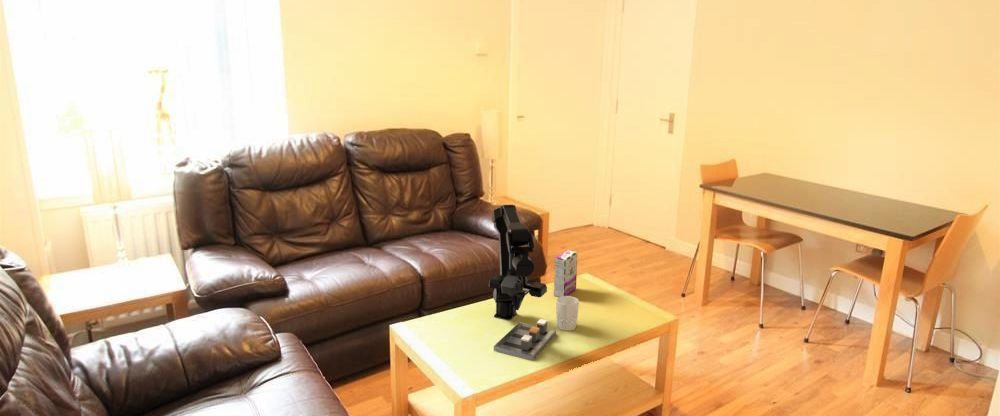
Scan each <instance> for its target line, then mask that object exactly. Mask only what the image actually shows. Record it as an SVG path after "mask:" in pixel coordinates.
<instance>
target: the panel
mask: <svg viewBox="0 0 1000 416" xmlns="http://www.w3.org/2000/svg"><path fill="white" fill-rule="evenodd" d="M532 327H537V325H533V324H529V323H524V322H517V324H516V325H514V327H512V328H511V329H510V330H509V331H508V332H507V333H506V334H505V335H504V336H503V337H502V338H501V339H500V340H498V341H497V343H496V344H494V345H493V351H494V352H498V353H501V354H506V355H509V356H514V357H517V358H522V359H525V360H530V361H535V360H536V359H537V357H538V356H539V355H540V354H541V353H542V352H543V350H544V349H545V348H547V346H548V344H550V343H551V341H552V340H553V339H554V338H555V336H557V330H556V329H551V328H547V330H546V331H545V332H544V334H542V333H539V339H538V340H537V341H536V342H535V341H532V346H531V348H530V349H529V350H524V349H521V338H522V337H523V336H524V335H529V330H530V329H531V328H532Z"/></svg>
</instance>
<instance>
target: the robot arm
mask: <svg viewBox="0 0 1000 416" xmlns="http://www.w3.org/2000/svg"><path fill="white" fill-rule="evenodd" d="M491 222H492V223H493V228H494V229H495V231H496V232H497V234H498V251H499V253H498V254H499V255H498V256H499V274H496V275H494V276H492V277H491V278H490V279H489V280H488V287H489V289H493V292H492V294H493V300H494V303H495V305H496V306H495V307H496V308H495V314H494V315H493V317H494V318H499V319H503V320H506V321H507V320H508V321H510V320H511V321H512V319H513V318H514V317H515V316H516V315H517V314H518V313H517V311H519V310H520V307H521V305H522V303H523V301H524V299H525V296H527V294H529V295H530V296H531V297H535V298H542V297H543V296H544V295H545V294H546V293H547V292H548V286H547V284H546V283H544V282H543V283H542V282H537V281H535V282H534V283H532V284H530V283H528V282H529V279H528V276H531V275H532V274H533V272H534V269H535V263H534V262H533V261H532V259H531V258H530V256H529V253H533V252H534V247H535V245H534V244H535V243H534V239H533V234H532V232H531V231H530V230H529V228H528V227H527V225H526V224H523V223H522V222H521V220H520V217H519V215H518V211H517V208H516V204H515V205H514V204H502V205H500V206H499V207H497V208H495V209H494V210H493V211H492V213H491Z"/></svg>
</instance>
